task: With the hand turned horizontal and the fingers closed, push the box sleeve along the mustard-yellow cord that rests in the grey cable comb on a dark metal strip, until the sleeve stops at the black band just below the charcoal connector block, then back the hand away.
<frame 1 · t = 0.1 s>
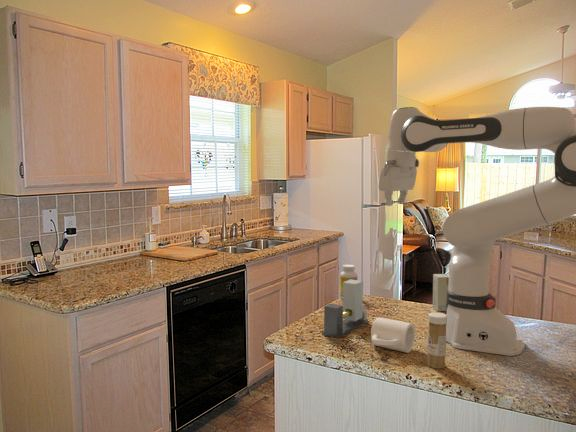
hand: (395, 204, 151), 39 cm above the counter, tool pointing down, fingers open, 8 cm apart
box sleeve: (352, 299, 155), point 8 cm above the counter, slide at 0.0 cm
sprinkles bottle: (436, 366, 123), on the counter
supplement bottle: (348, 298, 187), on the counter
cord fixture: (359, 320, 160), on the counter
skincare box: (440, 309, 172), on the counter
mug: (389, 351, 133), on the counter
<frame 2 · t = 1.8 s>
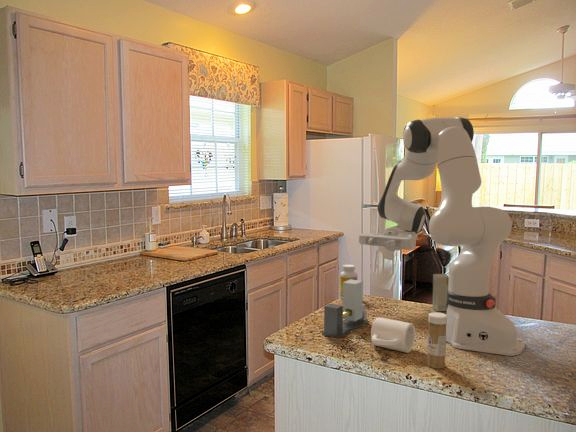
hand: (377, 243, 168), 24 cm above the counter, tool horizontal, fingers open, 5 cm apart
nothing on the counter moved.
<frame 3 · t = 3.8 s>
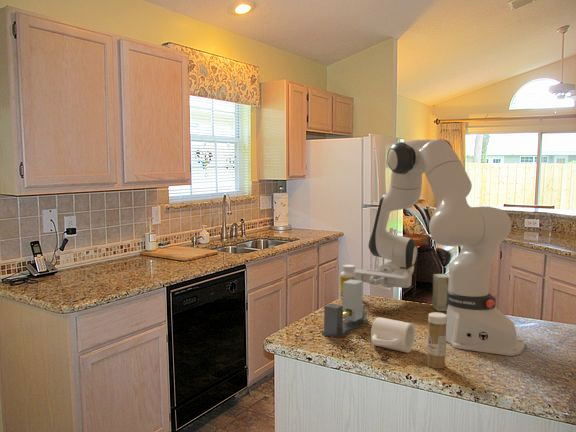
hand: (372, 282, 166), 11 cm above the counter, tool horizontal, fingers closed
nothing on the counter moved.
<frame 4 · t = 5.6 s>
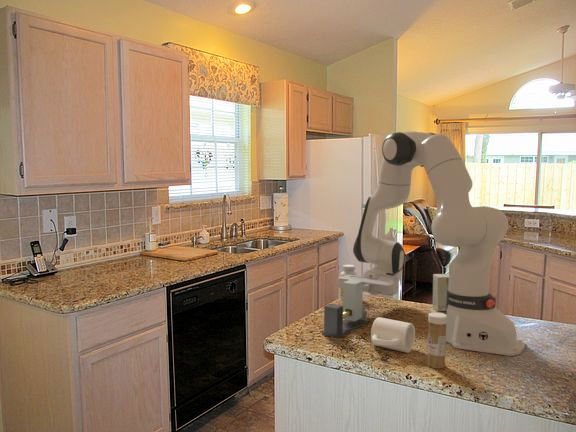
hand: (356, 289, 156), 11 cm above the counter, tool horizontal, fingers closed, pressing on box sleeve
box sleeve: (352, 300, 155), point 8 cm above the counter, slide at 0.1 cm, touching gripper
everything else where it was.
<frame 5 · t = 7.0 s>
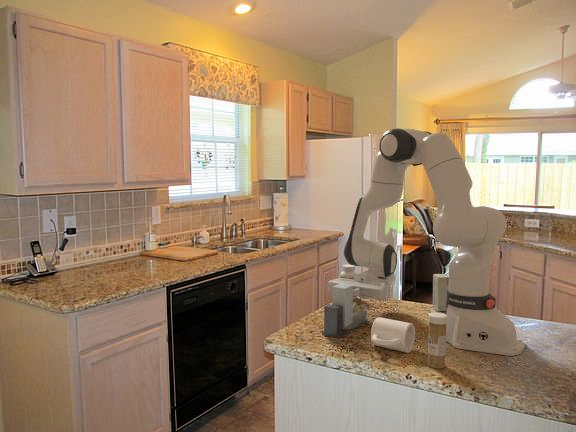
hand: (346, 293, 151), 11 cm above the counter, tool horizontal, fingers closed, pressing on box sleeve
box sleeve: (342, 304, 149), point 8 cm above the counter, slide at 6.8 cm, touching gripper
everything else where it was.
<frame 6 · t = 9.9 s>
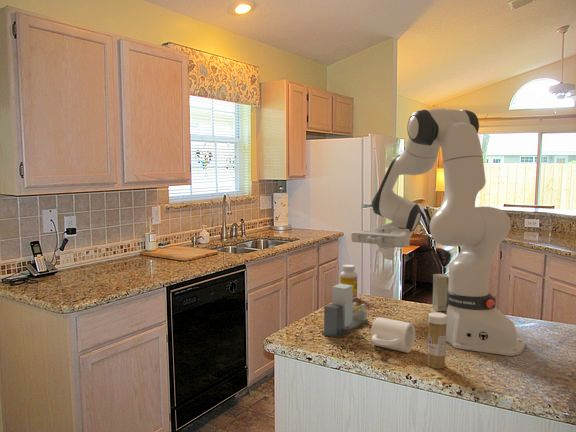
hand: (370, 240, 163), 26 cm above the counter, tool horizontal, fingers closed
box sleeve: (342, 304, 149), point 8 cm above the counter, slide at 6.8 cm
everything else where it was.
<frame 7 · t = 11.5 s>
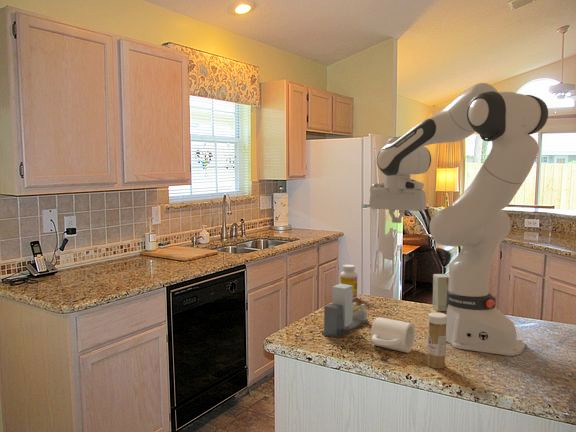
hand: (396, 222, 170), 31 cm above the counter, tool pointing down, fingers closed
nothing on the counter moved.
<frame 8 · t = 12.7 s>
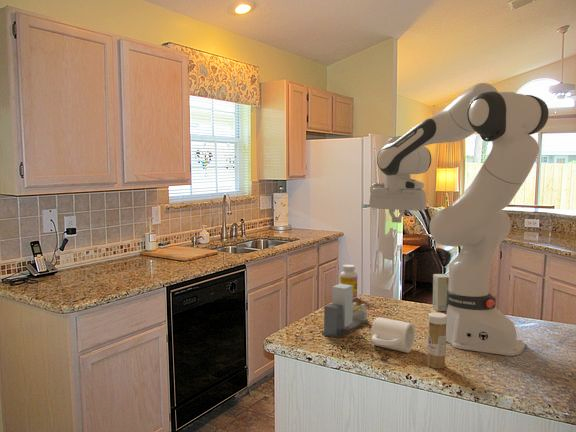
hand: (396, 222, 170), 31 cm above the counter, tool pointing down, fingers closed
nothing on the counter moved.
at the end: box sleeve slide at 6.8 cm; the gripper is holding nothing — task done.
